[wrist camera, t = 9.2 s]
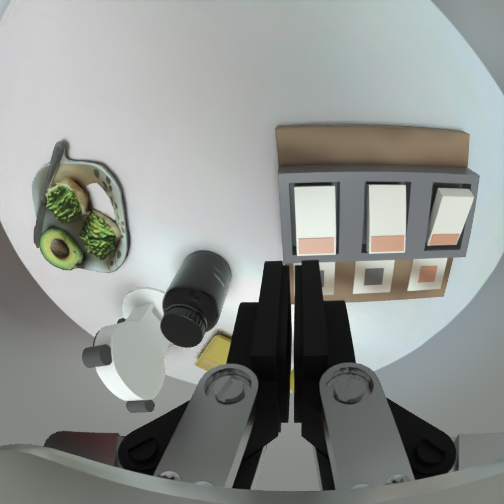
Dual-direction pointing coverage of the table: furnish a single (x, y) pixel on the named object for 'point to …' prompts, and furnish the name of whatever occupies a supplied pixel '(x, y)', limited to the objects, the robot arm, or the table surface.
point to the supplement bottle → (195, 299)
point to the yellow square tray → (214, 353)
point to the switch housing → (355, 209)
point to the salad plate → (77, 216)
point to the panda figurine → (132, 351)
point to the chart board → (375, 152)
